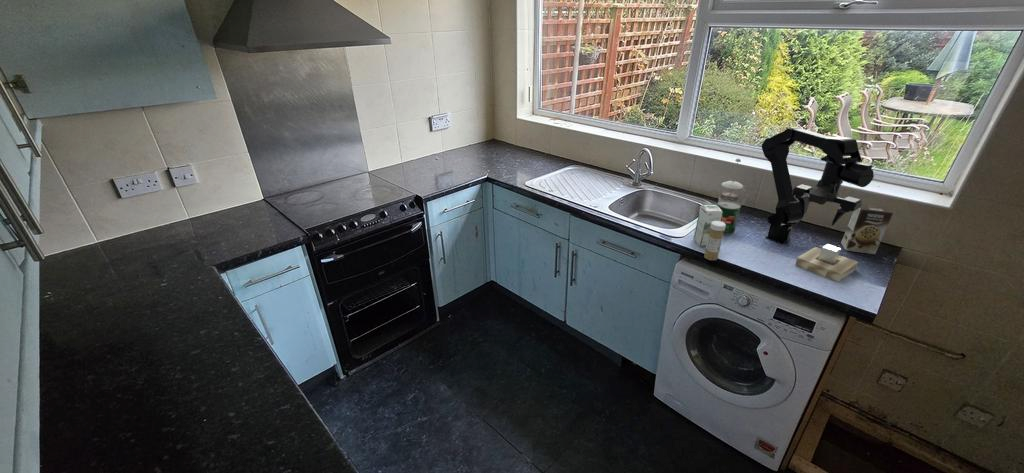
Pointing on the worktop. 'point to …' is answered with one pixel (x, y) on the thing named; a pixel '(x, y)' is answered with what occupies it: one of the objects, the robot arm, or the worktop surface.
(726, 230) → the canned tomato
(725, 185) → the french press
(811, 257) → the well block
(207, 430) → the worktop surface
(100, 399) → the worktop surface
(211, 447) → the worktop surface
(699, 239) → the syrup box
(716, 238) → the sprinkles bottle
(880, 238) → the cookie box
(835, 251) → the grey rectangular block
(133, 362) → the worktop surface
